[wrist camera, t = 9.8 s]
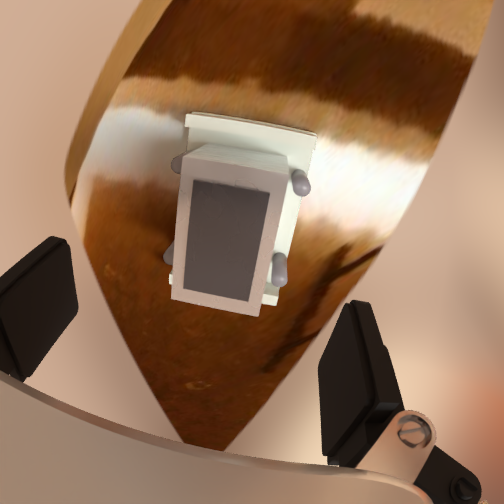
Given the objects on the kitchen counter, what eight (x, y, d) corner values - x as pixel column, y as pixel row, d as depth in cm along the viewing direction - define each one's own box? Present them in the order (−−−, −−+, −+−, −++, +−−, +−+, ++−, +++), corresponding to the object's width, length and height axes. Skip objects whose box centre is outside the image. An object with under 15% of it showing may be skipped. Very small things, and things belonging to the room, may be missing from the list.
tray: (195, 111, 20) (177, 112, 16) (314, 132, 20) (322, 137, 16) (177, 267, 25) (161, 294, 21) (277, 288, 25) (276, 319, 21)
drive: (209, 142, 20) (181, 157, 14) (287, 156, 20) (289, 175, 14) (195, 253, 23) (170, 300, 18) (264, 266, 23) (257, 318, 18)
